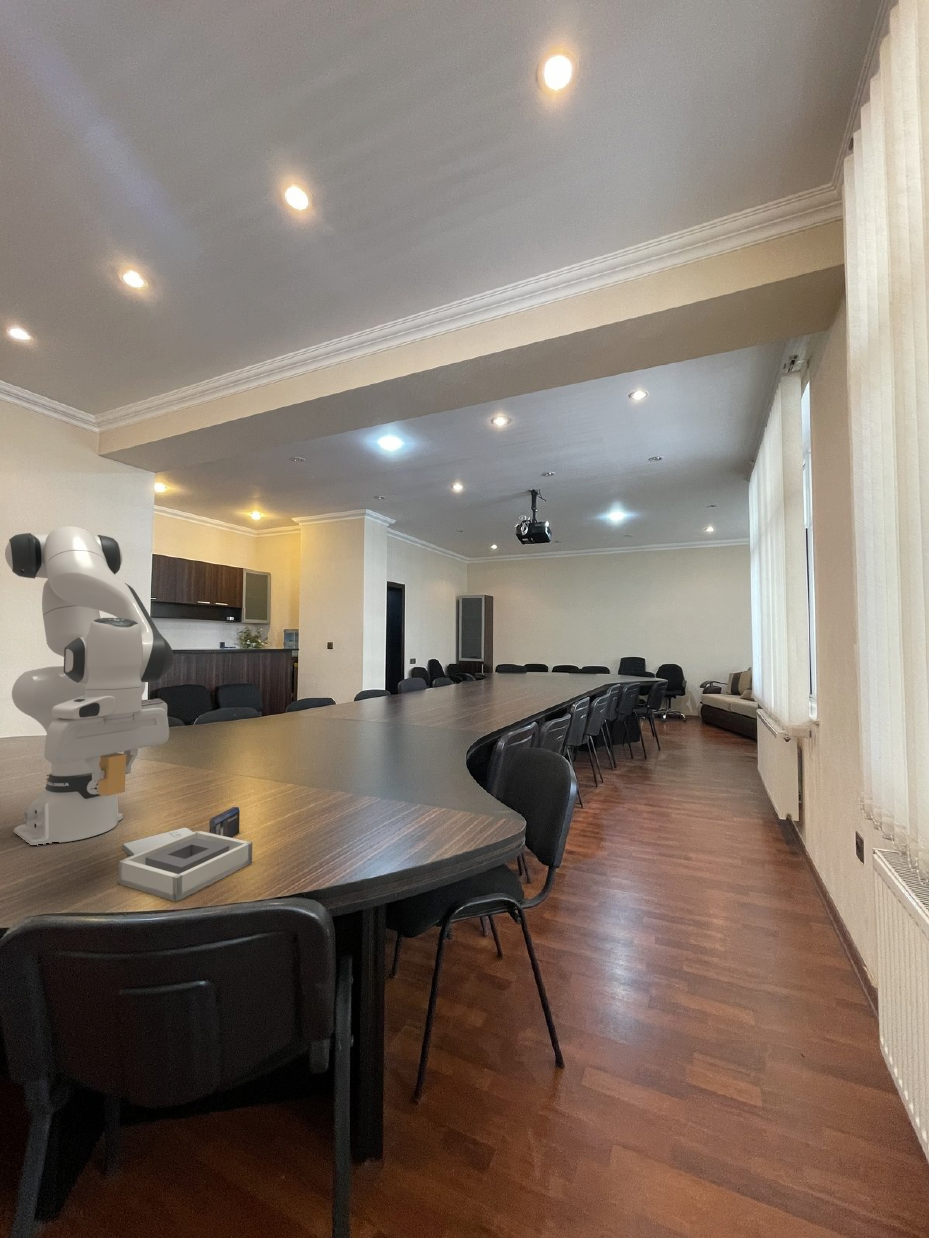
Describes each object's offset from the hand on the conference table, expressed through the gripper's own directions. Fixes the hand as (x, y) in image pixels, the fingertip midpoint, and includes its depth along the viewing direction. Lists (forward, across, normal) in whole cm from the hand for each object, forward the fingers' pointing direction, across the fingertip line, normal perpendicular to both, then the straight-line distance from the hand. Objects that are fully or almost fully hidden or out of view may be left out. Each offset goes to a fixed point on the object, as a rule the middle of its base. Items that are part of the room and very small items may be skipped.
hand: (111, 776), depth 91 cm
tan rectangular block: (+3, 0, 0) cm, 3 cm away
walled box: (+19, -8, +11) cm, 23 cm away
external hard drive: (+20, -15, -7) cm, 25 cm away
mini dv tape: (+19, -22, +4) cm, 29 cm away
